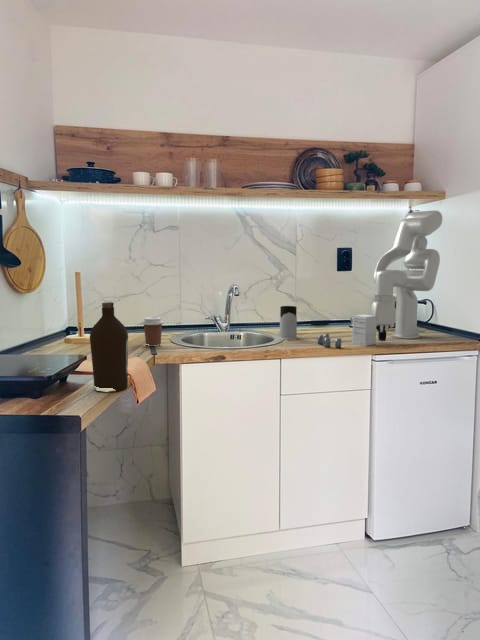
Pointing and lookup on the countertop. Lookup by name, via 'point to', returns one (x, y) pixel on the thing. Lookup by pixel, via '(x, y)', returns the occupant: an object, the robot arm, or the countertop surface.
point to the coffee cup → (153, 330)
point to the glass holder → (288, 322)
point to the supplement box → (364, 329)
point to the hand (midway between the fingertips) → (382, 340)
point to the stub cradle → (328, 341)
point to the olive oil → (109, 351)
